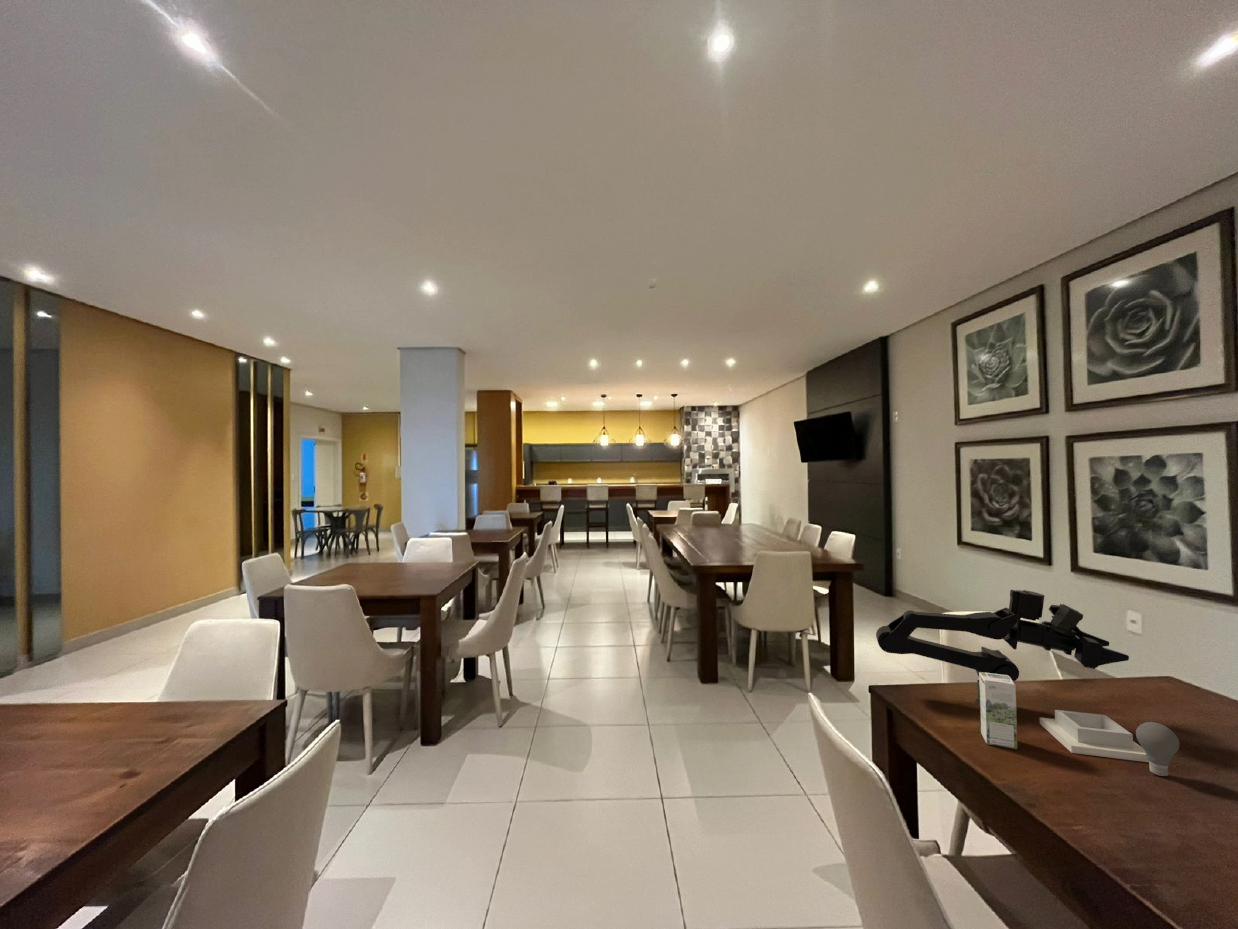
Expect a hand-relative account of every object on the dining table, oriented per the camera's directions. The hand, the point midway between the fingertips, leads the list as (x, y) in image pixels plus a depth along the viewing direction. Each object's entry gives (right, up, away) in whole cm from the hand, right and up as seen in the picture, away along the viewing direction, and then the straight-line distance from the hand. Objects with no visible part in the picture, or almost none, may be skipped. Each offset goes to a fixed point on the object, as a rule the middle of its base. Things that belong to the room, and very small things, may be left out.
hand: (1118, 650), depth 123 cm
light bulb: (-13, -17, -21) cm, 30 cm away
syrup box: (-35, -18, -8) cm, 40 cm away
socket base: (-14, -17, -9) cm, 24 cm away
